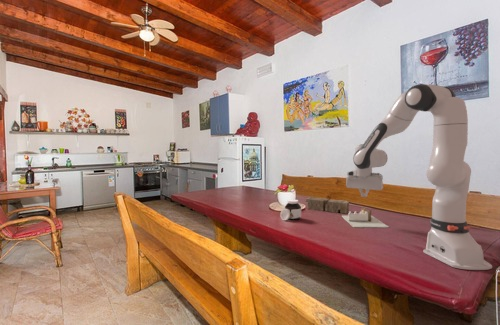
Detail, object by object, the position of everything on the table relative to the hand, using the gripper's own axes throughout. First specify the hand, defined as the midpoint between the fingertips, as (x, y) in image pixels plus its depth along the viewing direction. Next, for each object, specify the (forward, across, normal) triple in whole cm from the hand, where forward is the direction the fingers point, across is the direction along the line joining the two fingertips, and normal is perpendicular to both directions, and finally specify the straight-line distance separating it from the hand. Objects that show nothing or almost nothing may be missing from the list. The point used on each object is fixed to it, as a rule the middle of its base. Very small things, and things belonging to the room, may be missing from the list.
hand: (364, 196), depth 150 cm
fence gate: (+15, +5, -3) cm, 16 cm away
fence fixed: (+16, +5, -11) cm, 20 cm away
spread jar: (+15, +37, +21) cm, 45 cm away
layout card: (+16, +4, -5) cm, 17 cm away
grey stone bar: (+15, +34, -15) cm, 40 cm away
